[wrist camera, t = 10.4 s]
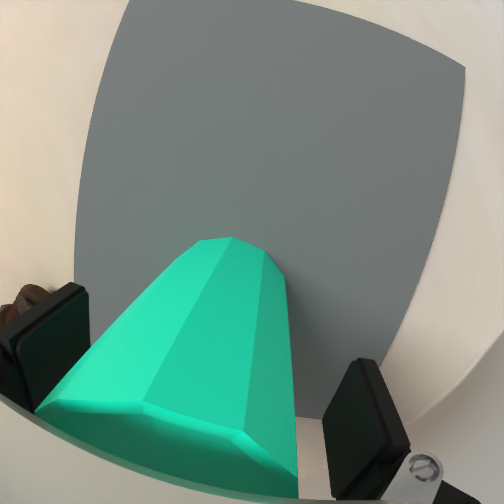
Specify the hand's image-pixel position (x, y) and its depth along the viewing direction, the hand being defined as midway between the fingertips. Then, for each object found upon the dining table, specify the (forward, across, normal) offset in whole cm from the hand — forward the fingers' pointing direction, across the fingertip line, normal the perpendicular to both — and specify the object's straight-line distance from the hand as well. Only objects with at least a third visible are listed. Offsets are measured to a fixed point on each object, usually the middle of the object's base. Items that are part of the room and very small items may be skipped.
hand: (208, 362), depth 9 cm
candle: (+5, 0, 0) cm, 6 cm away
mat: (+6, 0, -4) cm, 7 cm away
